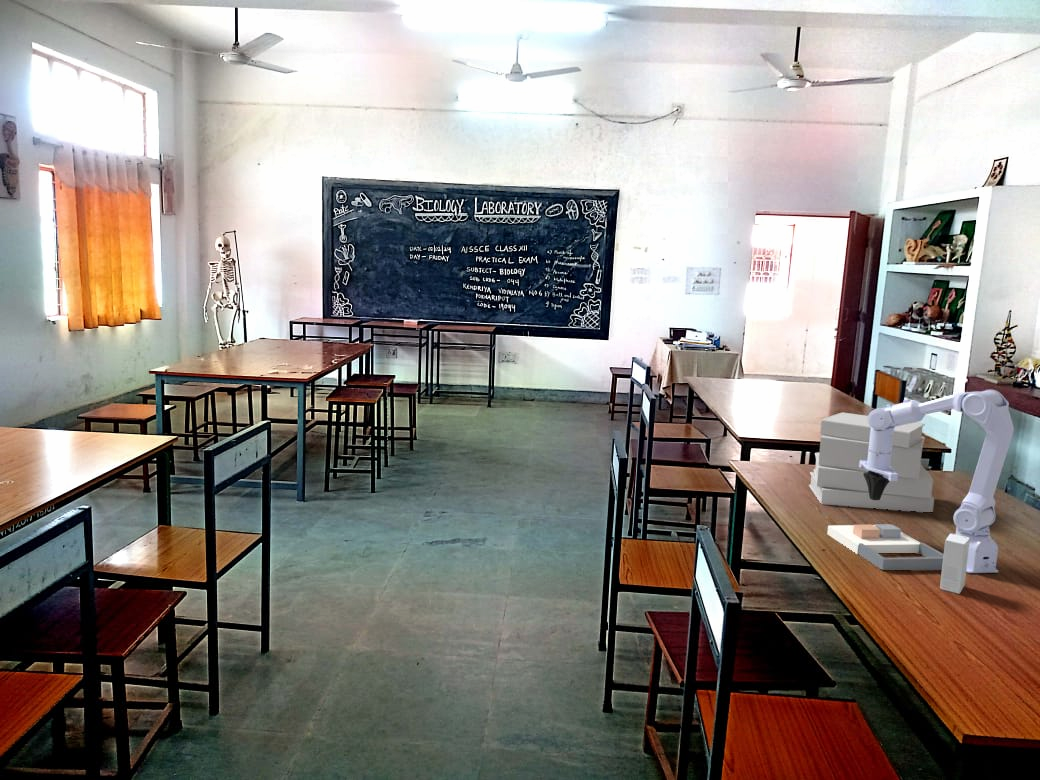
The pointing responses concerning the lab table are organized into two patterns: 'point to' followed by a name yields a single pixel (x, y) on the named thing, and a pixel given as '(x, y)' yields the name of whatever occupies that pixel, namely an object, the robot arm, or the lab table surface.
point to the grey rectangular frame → (905, 559)
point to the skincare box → (954, 563)
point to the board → (873, 541)
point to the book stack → (845, 480)
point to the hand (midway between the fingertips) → (874, 499)
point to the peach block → (866, 531)
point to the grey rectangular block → (888, 531)
